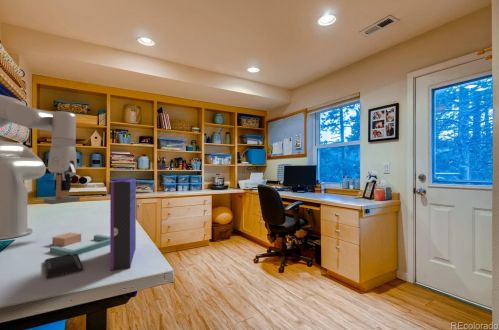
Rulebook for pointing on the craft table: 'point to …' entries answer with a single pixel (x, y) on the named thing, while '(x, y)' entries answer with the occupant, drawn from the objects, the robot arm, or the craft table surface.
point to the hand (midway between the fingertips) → (62, 189)
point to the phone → (62, 266)
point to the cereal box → (122, 223)
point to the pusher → (61, 194)
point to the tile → (66, 239)
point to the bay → (63, 251)
